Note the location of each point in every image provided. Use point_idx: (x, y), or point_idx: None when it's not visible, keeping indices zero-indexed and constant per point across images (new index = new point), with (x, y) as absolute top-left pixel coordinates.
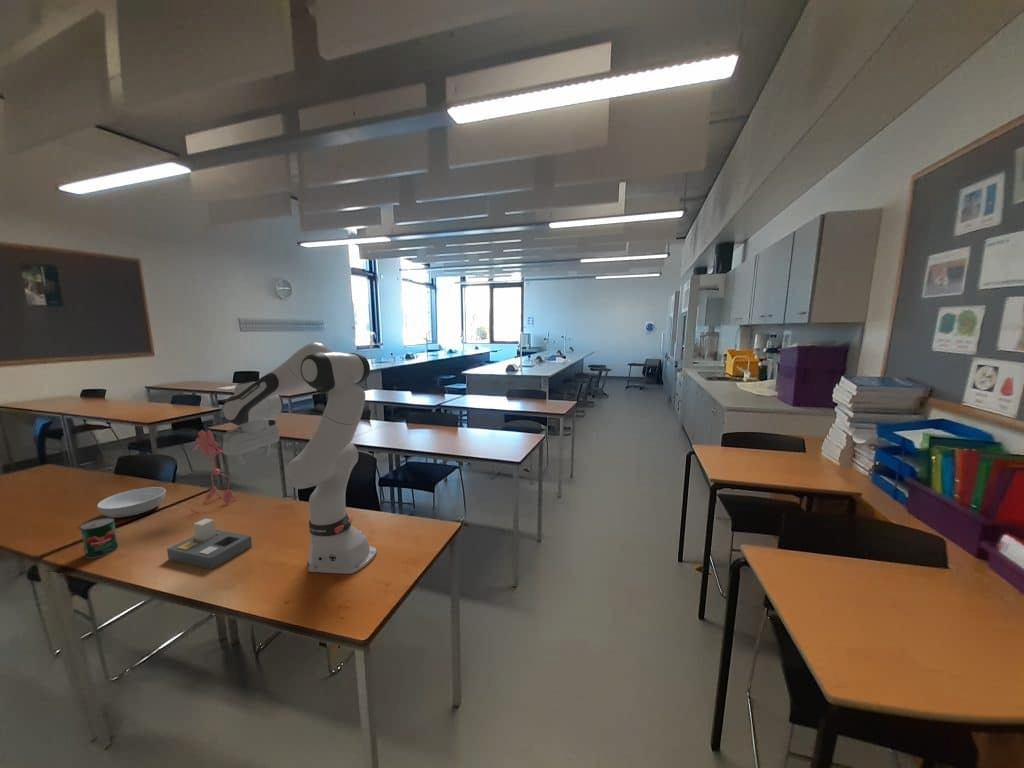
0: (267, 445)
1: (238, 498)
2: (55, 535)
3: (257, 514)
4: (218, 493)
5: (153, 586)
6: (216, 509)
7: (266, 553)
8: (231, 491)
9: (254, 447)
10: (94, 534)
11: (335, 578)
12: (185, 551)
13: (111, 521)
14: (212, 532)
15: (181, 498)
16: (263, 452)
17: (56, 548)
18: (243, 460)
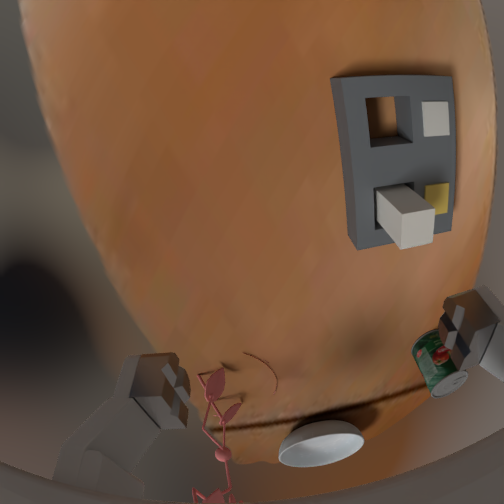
0: (102, 480)
1: (190, 375)
2: (395, 419)
3: (203, 264)
4: (216, 409)
5: (493, 139)
6: (247, 364)
7: (331, 4)
8: (205, 393)
9: (429, 498)
10: None
11: None
12: (451, 176)
13: (445, 378)
14: (392, 196)
15: (255, 431)
16: (176, 412)
17: (423, 389)
18: (496, 316)
